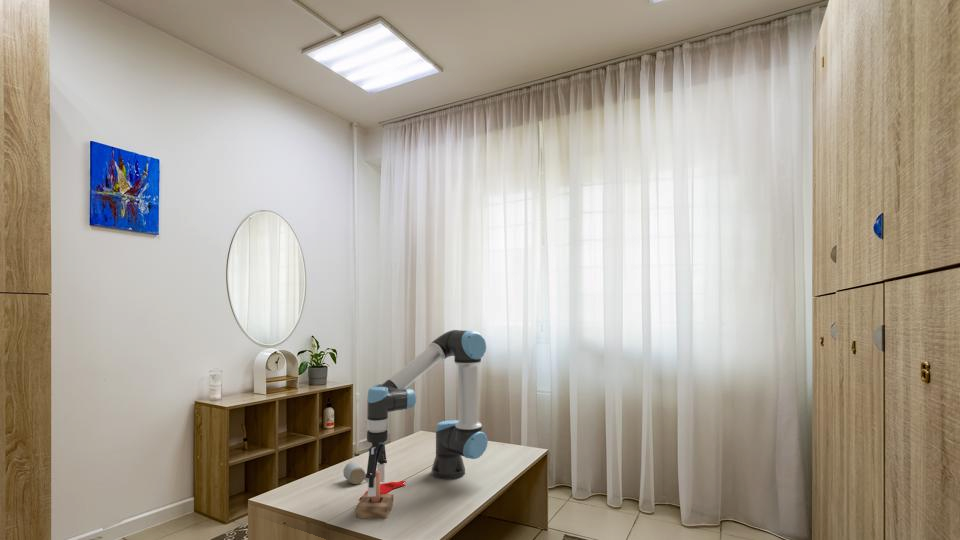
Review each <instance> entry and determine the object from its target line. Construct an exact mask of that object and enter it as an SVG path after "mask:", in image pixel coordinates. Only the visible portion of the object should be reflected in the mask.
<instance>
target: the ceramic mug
mask: <svg viewBox="0 0 960 540" xmlns="http://www.w3.org/2000/svg"><path fill="white" fill-rule="evenodd" d="M366 475H367V472H366V471H365V469H364V468H363V467H362V466H361V464H360V463H359V462H357V461H354V460H353V461H349V462H348V463H346V465H345V466H344V468H343V477H344V478H345V479H346V480H347V481H348V482H349V483H350V484H352V485H360V484H362V483H363V482H364V481H367V482H368V478H366Z"/></svg>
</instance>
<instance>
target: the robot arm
mask: <svg viewBox="0 0 960 540" xmlns="http://www.w3.org/2000/svg"><path fill="white" fill-rule="evenodd" d="M486 352H487V342H486V339H485V338H484V336H483V335H482V334H481V333H479V332H477V331H474V330H461V329H460V330H459V329H452V330H449V331H447V332H445V333H442V334H441V335H440V336H438V337H437V338H436V339H434V340H433V341H431V342H430V343H429V344H428V347H427V348H426V349H425V350H424V351H423V352H421V353H420V354H419V355H418V356H416V357H415V358H413V360H411V361H410V362H409V363H407V364H406V365H405V366H403V367H401V369H400V370H398V371H397V372H396V373H395V374H393V375H392V376H391V377H390V378H389V379H387V380H386V381H385V382H383V383H382V384H381V383H380V384H378V383H377V384H375V385H373V386H372V387H370V388H369V389H368V391H367V400H366V402H367V403H366V404H367V408H366V409H367V412H366V413H367V415H366V417H367V419H366V421H365V423H366V424H367V425H366V426H367V427H366V428H367V431H366V442H367V443H371V447H370V448H369V449H368V460H367V467H366V474H367V475H366V478H368V481H367V491H368V496H376V477H375V474H376V471H380V483H385V477H386V475H385V474H386V473H385V471H386V470H385V469H386V467H385V466H386V464H388V463H387V462H388V460H387V452H386V444H385V443H386V442H387V440H388V433H389V431H388V428H389V421H388V420H389V416H388V415H389V413H391V412H395V411H402V410H409V409H411V408H414V406H415V405H416V403H417V396H416V395H417V394H416V392H415V391H414V389H412V388H408V387H409V386H411V385H412V384H413V383H414V382H416V380H418V379H419V378H420V377H422V376H423V375H424V374H426V373H427V372H428V371H429V370H430V369H432V367H434V365H437V363H438V362H443V361H444V360H445V359H447V358H450V357H454V359H453V360H454V364H455V365H457V376H458V377H457V385H458V391H457V392H458V394H457V395H458V419H454V420H453V419H451V420H450V419H449V420H443V421H440V422H438V423H437V424H436V426H435V428H436V429H435V457H434V460H433V464H432V467H431V476H432V477H435V478H436V479H441V480H453V479H460V478H462V477H464V476H465V475H464V474H466V467H465V464H464V460H463V459H464V458H466V459H471V460H476V459H480V457H481V456H483V455H484V453H485V452H486V450H487V447H488V437H487V434H486V433H485V432H483V424H482V423H481V422H480V421H479V381H478V379H479V378H478V377H479V375H478V373H479V370H478V366H479V365H480V363H481V362H482V358H483V357H484V356H485V354H486ZM463 457H464V458H463ZM463 475H464V476H463Z"/></svg>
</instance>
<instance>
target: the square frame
mask: <svg viewBox="0 0 960 540" xmlns="http://www.w3.org/2000/svg"><path fill="white" fill-rule="evenodd" d="M363 495H364V496H363ZM363 495H362V496H361V497H362V498H361V499H360V500H359V502H358V503H357V505H356V510H355V512H356V513H355V514H356V515H355V518H361V519H362V518H365V519H387V518H388V517H389V515H390V512H391V511H392V509H393V507H394V498H395V497H394V494H392V493H388V494H380V503H371V497H372V496H368V494H365V493H364V494H363Z"/></svg>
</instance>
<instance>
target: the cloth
mask: <svg viewBox="0 0 960 540" xmlns="http://www.w3.org/2000/svg"><path fill="white" fill-rule="evenodd" d="M406 481H407V480H401V481H389V482H383V483H380V494H390V492H392V490H394V489H397V487H398V488H400V486H401V487H405V486H406V484H405V483H404V482H406ZM403 483H404V484H403ZM406 483H407V482H406ZM364 494H368V490H367V491H366V492H364ZM364 494H363V495H362V496H361V497H359V499H358V501H360V500H361V499H362V497H363V496H364Z"/></svg>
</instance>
